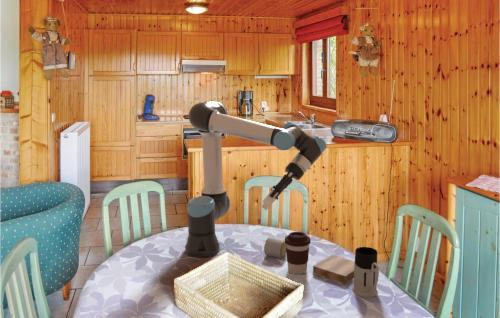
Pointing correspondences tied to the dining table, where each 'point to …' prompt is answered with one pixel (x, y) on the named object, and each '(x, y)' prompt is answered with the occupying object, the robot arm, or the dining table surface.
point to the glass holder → (365, 272)
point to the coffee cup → (297, 252)
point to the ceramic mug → (275, 247)
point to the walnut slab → (335, 269)
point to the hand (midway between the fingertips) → (264, 206)
